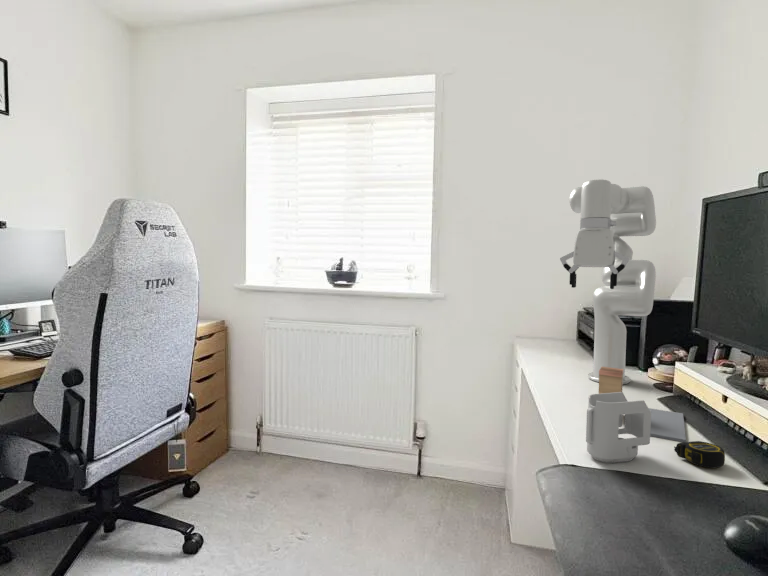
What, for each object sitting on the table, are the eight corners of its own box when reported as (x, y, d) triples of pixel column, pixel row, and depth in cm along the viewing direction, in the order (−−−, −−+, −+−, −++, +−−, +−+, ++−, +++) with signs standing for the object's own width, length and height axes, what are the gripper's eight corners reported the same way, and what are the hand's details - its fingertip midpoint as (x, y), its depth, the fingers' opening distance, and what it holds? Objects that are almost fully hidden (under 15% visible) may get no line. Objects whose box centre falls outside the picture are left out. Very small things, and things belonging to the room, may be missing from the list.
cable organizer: (652, 460, 89) (655, 399, 88) (597, 467, 86) (599, 404, 85) (626, 446, 95) (628, 389, 95) (574, 452, 93) (576, 393, 92)
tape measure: (702, 455, 92) (702, 437, 91) (733, 470, 85) (734, 451, 85) (673, 457, 90) (674, 439, 90) (703, 473, 84) (704, 454, 83)
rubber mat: (629, 407, 121) (630, 405, 121) (682, 415, 114) (683, 413, 114) (624, 431, 104) (624, 428, 104) (685, 442, 98) (685, 439, 97)
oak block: (600, 410, 118) (601, 366, 117) (621, 414, 115) (623, 369, 115) (597, 416, 114) (599, 370, 113) (619, 420, 111) (621, 373, 110)
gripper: (631, 226, 120) (628, 289, 121) (564, 228, 129) (561, 287, 130) (630, 223, 114) (627, 289, 114) (559, 225, 123) (556, 287, 123)
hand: (592, 288), depth 122 cm, fingers open, 9 cm apart
